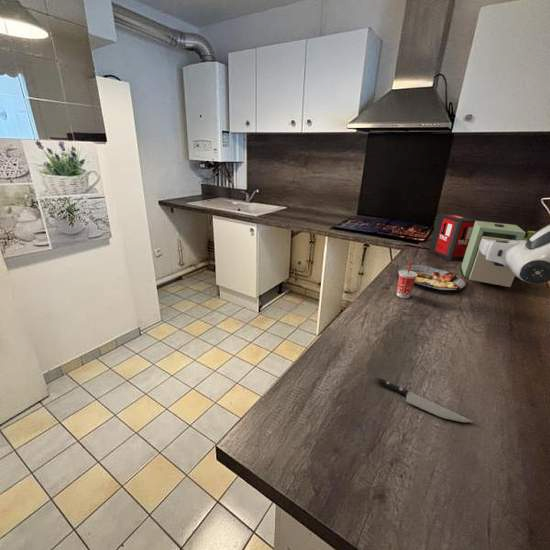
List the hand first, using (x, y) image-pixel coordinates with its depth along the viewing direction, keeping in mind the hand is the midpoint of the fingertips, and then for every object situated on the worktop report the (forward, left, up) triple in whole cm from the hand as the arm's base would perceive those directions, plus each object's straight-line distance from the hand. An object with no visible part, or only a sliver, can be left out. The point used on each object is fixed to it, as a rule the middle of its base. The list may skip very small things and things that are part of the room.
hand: (511, 243), depth 101 cm
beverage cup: (+30, +16, -21) cm, 40 cm away
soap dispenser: (-14, -32, -21) cm, 41 cm away
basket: (0, -13, -19) cm, 23 cm away
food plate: (+21, -4, -21) cm, 30 cm away
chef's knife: (+23, +69, -21) cm, 76 cm away
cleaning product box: (+13, -47, -21) cm, 53 cm away
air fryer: (0, -24, -21) cm, 32 cm away
